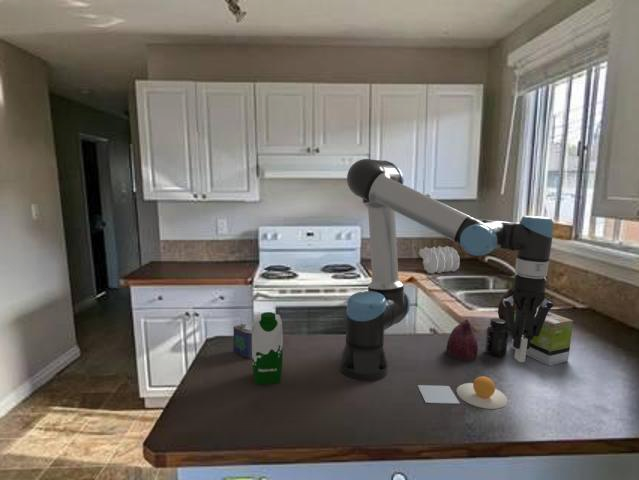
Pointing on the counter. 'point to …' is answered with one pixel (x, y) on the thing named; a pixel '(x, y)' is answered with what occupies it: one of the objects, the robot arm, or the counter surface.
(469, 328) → the vegetable
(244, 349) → the flask
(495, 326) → the supplement bottle
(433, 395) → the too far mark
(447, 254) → the white ribbed cylinder
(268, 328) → the milk carton
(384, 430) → the counter surface
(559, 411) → the counter surface
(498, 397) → the disc
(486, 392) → the ball
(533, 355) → the tea box
